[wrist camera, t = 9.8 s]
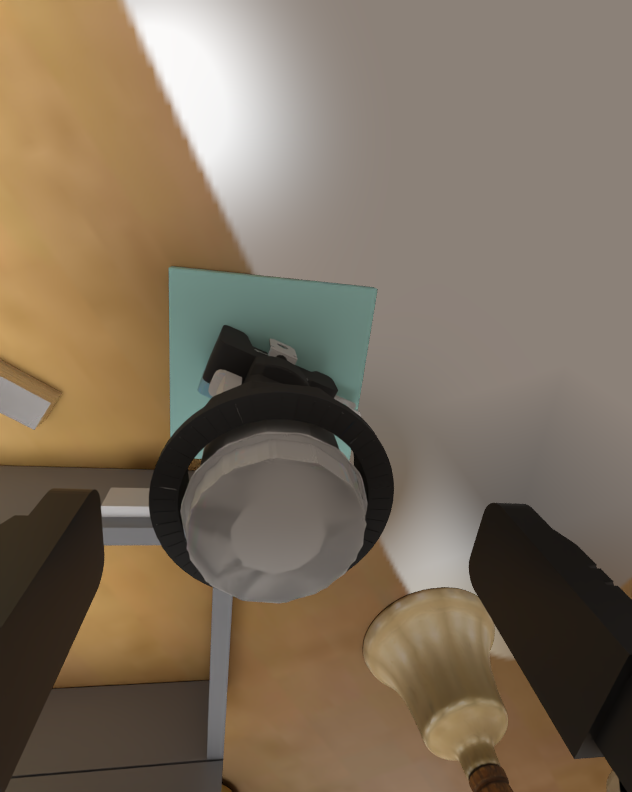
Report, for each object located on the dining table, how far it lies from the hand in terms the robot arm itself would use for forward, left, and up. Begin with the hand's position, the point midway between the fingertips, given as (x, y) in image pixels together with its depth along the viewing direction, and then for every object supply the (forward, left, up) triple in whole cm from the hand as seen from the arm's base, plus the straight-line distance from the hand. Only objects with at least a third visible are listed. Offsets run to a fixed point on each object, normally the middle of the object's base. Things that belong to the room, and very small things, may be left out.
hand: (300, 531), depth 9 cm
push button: (0, 0, -10) cm, 10 cm away
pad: (0, 0, -10) cm, 10 cm away
